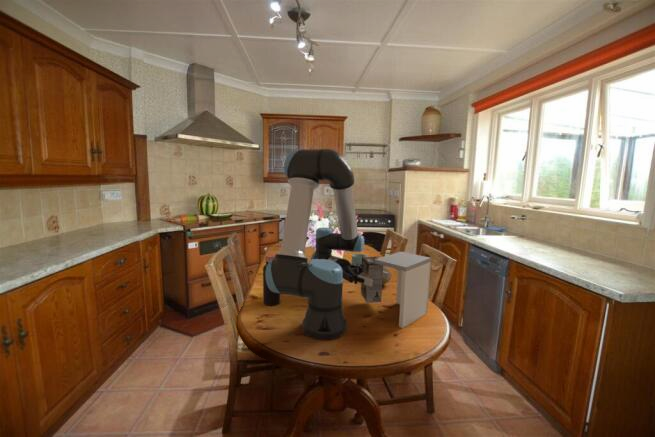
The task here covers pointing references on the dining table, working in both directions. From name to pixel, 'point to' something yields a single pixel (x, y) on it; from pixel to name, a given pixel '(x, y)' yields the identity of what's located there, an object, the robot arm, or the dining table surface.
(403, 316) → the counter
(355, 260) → the cup
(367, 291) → the coffee box
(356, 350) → the dining table surface
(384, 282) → the natural sponge
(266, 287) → the bottle
